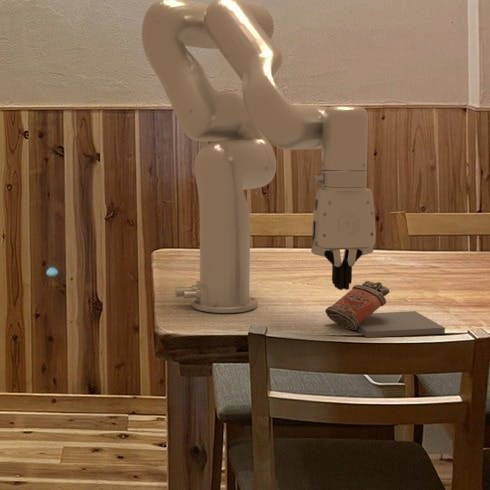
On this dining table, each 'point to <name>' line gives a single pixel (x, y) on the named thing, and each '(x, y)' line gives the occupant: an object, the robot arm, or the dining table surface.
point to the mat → (398, 325)
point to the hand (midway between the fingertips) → (341, 288)
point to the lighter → (358, 304)
